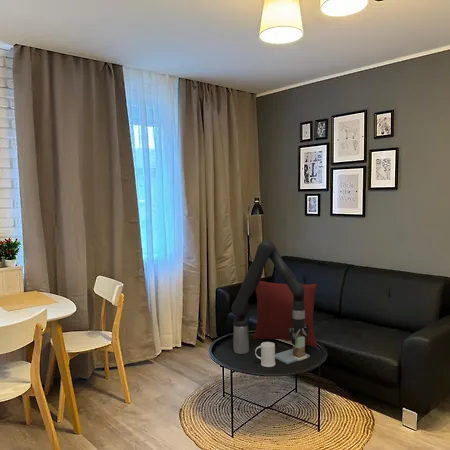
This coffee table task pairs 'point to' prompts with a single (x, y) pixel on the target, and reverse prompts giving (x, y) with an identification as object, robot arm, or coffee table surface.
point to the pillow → (282, 311)
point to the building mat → (289, 356)
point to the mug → (267, 354)
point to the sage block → (299, 341)
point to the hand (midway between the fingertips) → (298, 343)
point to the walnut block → (298, 352)
